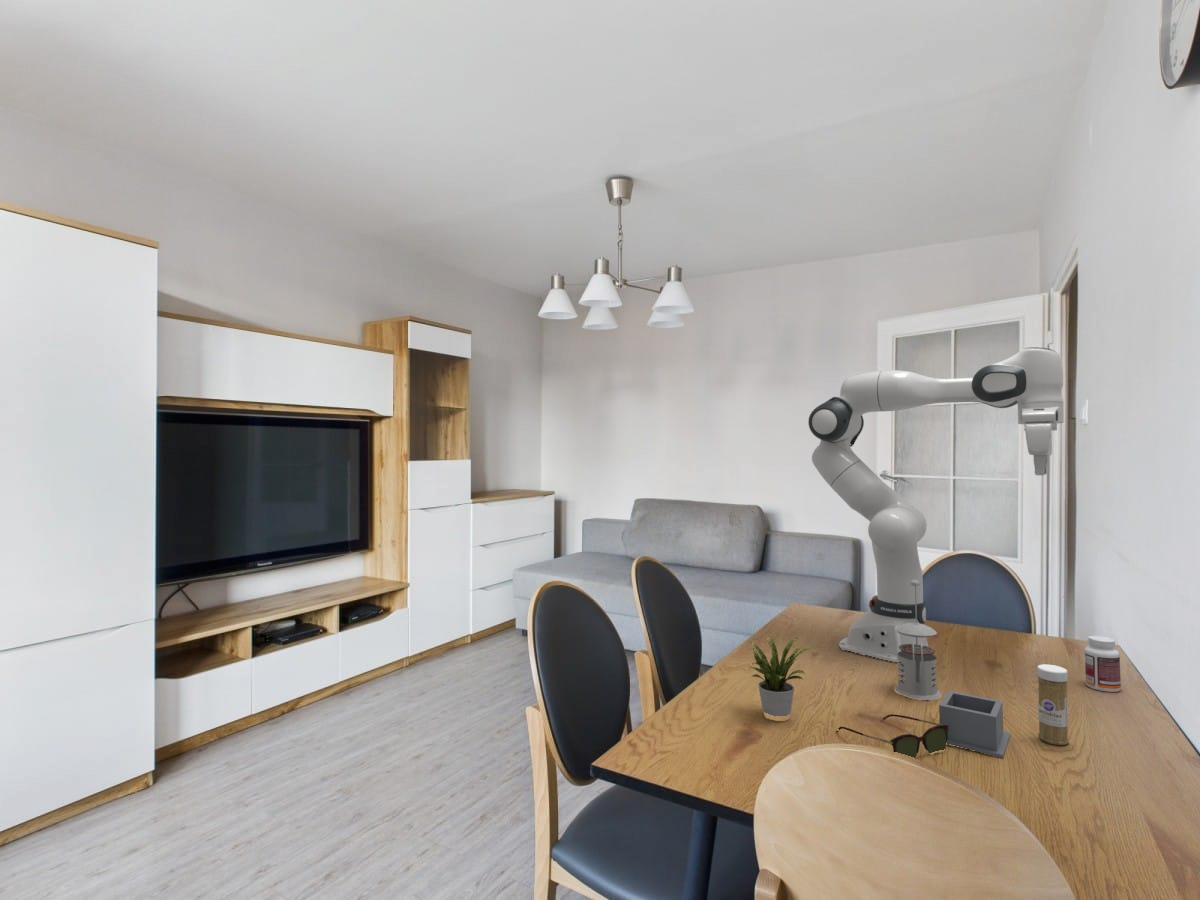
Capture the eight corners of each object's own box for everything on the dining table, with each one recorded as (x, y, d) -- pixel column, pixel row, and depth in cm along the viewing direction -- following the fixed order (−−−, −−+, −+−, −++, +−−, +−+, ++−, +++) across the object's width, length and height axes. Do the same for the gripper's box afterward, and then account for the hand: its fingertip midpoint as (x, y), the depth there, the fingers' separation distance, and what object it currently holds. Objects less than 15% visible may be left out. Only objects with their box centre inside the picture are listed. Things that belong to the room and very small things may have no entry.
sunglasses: (893, 769, 107) (890, 738, 108) (830, 741, 121) (827, 714, 121) (951, 752, 113) (949, 723, 113) (885, 726, 126) (882, 701, 127)
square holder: (932, 741, 116) (931, 705, 116) (944, 721, 125) (943, 687, 125) (1002, 758, 109) (1002, 720, 109) (1010, 736, 118) (1009, 700, 118)
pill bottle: (1125, 689, 140) (1124, 639, 140) (1114, 695, 137) (1113, 644, 137) (1091, 680, 145) (1090, 633, 145) (1080, 686, 142) (1079, 637, 142)
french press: (941, 688, 142) (938, 577, 143) (945, 706, 132) (942, 587, 132) (893, 682, 147) (891, 574, 147) (893, 699, 136) (891, 584, 136)
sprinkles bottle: (1037, 741, 116) (1035, 668, 116) (1040, 732, 119) (1038, 661, 119) (1068, 748, 113) (1066, 673, 113) (1070, 739, 116) (1068, 666, 116)
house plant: (819, 707, 133) (818, 629, 133) (820, 734, 120) (818, 648, 120) (750, 699, 137) (749, 624, 138) (743, 725, 124) (742, 642, 125)
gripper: (1027, 419, 158) (1028, 474, 158) (1020, 414, 142) (1021, 475, 141) (1058, 418, 154) (1059, 474, 154) (1055, 412, 138) (1055, 475, 138)
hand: (1040, 475), depth 147 cm, fingers open, 8 cm apart
